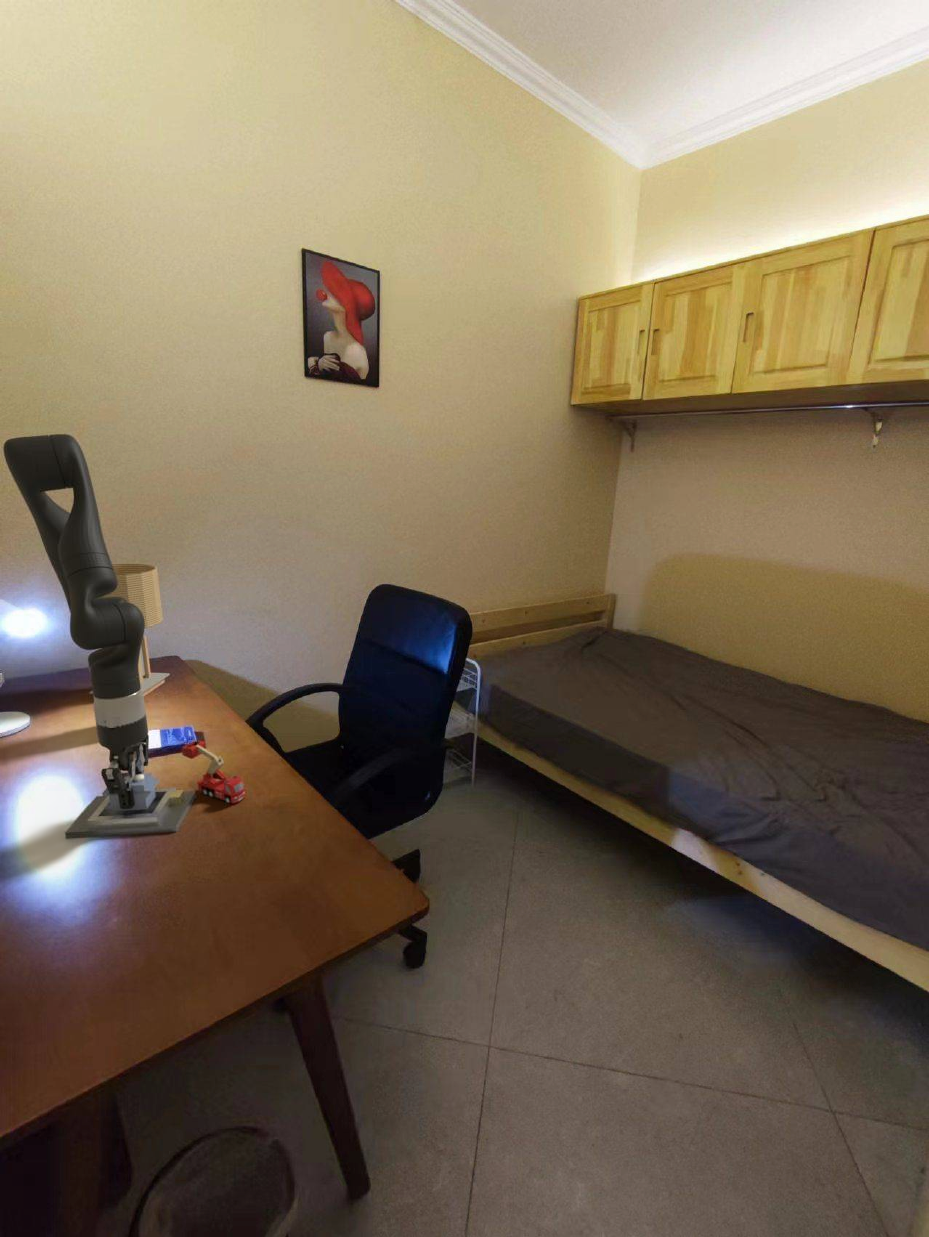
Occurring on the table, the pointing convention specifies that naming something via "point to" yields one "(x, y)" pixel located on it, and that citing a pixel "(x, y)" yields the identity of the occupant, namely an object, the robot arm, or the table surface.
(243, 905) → the table surface
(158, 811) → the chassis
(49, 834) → the table surface
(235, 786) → the toy fire truck
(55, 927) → the table surface
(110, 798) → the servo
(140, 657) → the desk lamp
